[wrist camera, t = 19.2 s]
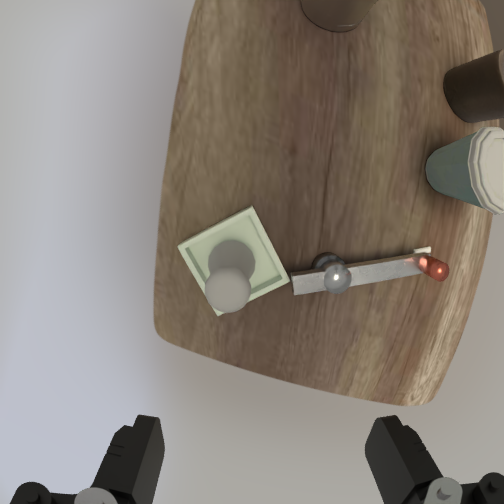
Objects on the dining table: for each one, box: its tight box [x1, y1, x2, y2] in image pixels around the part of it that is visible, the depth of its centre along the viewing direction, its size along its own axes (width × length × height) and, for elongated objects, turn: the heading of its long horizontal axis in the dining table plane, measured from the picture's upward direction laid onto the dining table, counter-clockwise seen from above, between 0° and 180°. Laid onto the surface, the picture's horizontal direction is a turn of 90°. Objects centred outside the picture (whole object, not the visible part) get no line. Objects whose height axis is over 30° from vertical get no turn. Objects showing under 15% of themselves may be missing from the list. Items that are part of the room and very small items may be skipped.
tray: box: [177, 205, 290, 316], centre depth 39 cm, size 10×10×3 cm
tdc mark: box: [413, 246, 431, 254], centre depth 41 cm, size 3×1×1 cm, turn 99°
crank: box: [291, 252, 449, 295], centre depth 36 cm, size 20×4×7 cm, turn 98°
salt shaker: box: [205, 240, 256, 313], centre depth 33 cm, size 6×6×13 cm
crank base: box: [311, 252, 345, 270], centre depth 40 cm, size 4×4×2 cm
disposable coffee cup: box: [425, 127, 504, 215], centre depth 31 cm, size 11×11×15 cm
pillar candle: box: [444, 49, 504, 123], centre depth 28 cm, size 10×10×15 cm
